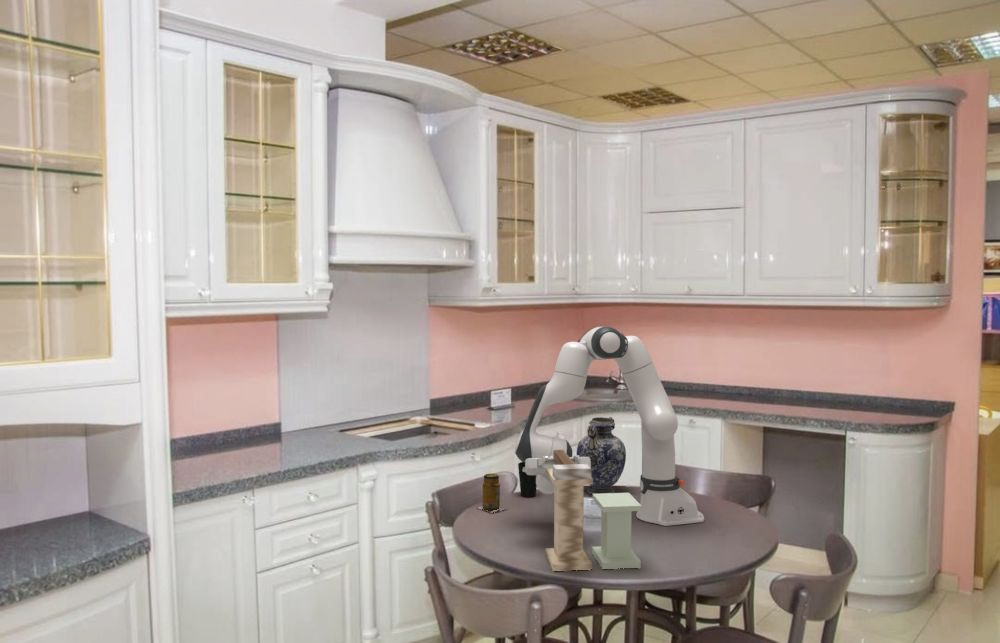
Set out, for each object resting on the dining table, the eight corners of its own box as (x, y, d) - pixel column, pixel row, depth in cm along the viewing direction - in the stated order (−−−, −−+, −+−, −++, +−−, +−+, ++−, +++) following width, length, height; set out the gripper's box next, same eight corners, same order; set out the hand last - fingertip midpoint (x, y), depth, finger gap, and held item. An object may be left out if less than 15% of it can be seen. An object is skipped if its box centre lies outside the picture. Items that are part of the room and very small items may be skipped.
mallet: (574, 459, 241) (574, 449, 241) (591, 479, 218) (591, 468, 218) (542, 460, 240) (542, 450, 240) (555, 480, 217) (555, 469, 217)
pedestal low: (628, 551, 235) (628, 492, 233) (640, 568, 222) (641, 505, 220) (591, 553, 233) (592, 493, 232) (602, 569, 220) (603, 506, 219)
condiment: (492, 504, 282) (493, 471, 281) (508, 510, 275) (508, 476, 274) (476, 508, 277) (476, 474, 276) (491, 514, 271) (491, 479, 270)
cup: (527, 491, 298) (528, 460, 297) (542, 495, 293) (543, 463, 292) (513, 495, 293) (513, 463, 292) (528, 499, 287) (528, 467, 286)
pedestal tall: (581, 553, 233) (582, 467, 231) (591, 570, 220) (592, 479, 218) (545, 555, 232) (546, 468, 230) (553, 571, 219) (553, 480, 217)
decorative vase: (589, 481, 312) (590, 411, 310) (633, 488, 303) (635, 417, 300) (565, 495, 294) (567, 421, 291) (612, 503, 284) (614, 427, 282)
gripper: (520, 462, 248) (526, 449, 235) (584, 460, 250) (593, 447, 238) (522, 481, 245) (527, 469, 233) (586, 479, 247) (595, 467, 235)
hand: (561, 458), depth 235 cm, fingers open, 8 cm apart
